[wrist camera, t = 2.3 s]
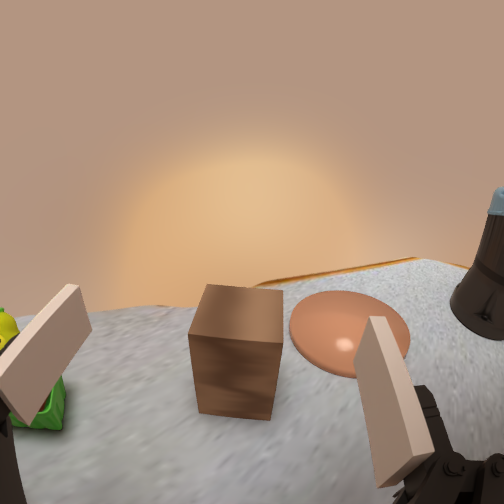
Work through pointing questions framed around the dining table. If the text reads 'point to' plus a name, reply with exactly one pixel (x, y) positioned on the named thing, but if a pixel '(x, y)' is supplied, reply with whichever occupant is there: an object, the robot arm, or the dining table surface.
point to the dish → (340, 328)
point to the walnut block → (237, 350)
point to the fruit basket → (52, 410)
